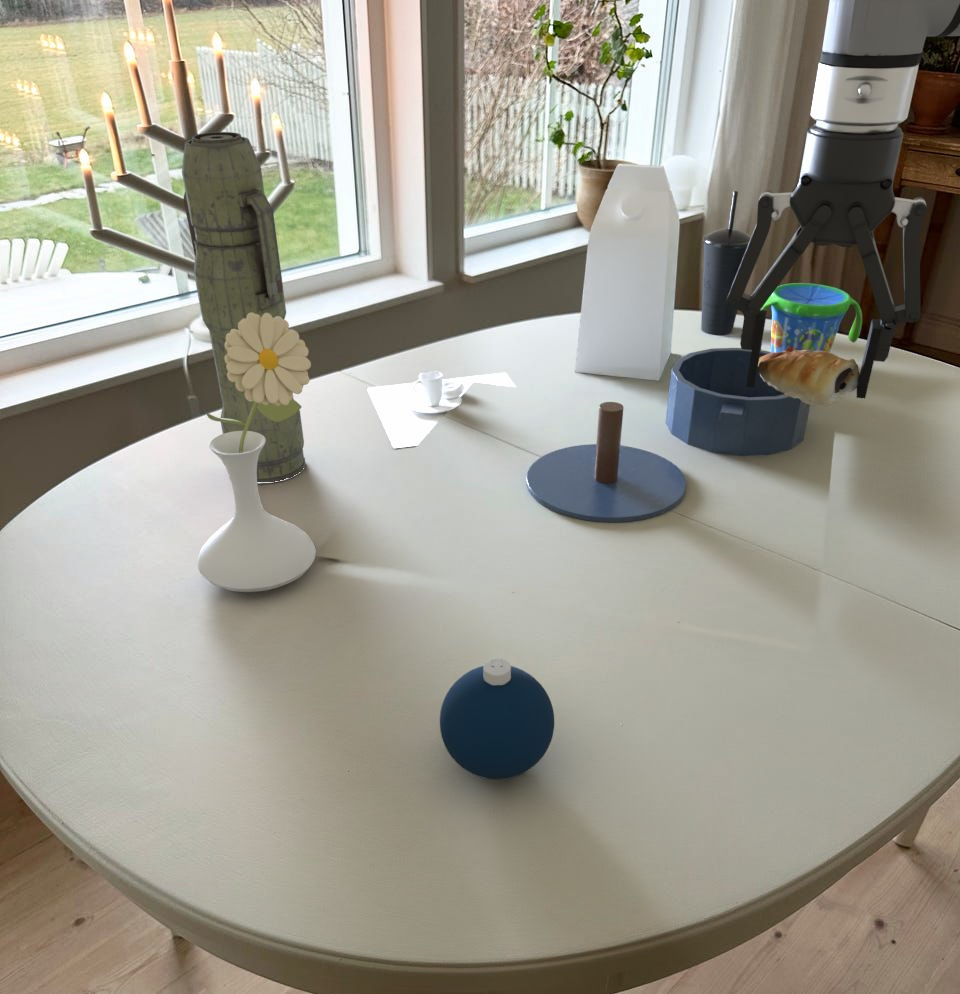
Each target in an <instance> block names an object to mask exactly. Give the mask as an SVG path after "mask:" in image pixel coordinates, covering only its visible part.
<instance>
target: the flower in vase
mask: <svg viewBox="0 0 960 994" xmlns="http://www.w3.org/2000/svg"><path fill="white" fill-rule="evenodd" d="M238 329H239V330H237V329H231V331H230V333H228V334H227V335H226V342H225V345H224V346H225V349H226V350H227V355H225V358H224V359H225V362H226V364H227V365H226V368H227V371H228V373H227V377H228V379H229V380H230V381H231V382H236V384H235V385H236V388H237V389H238V390H239V391H241V392H242V391H245V398H246V399H247V400H248V401H250V402H252V401H254V404H253V407H252V410H251V412H250V415H249V417H248V419H247V422H246V424H244V423H243V422H241V421H237V420H233V419H226V418H221V417H218V416H215V415H212V414H210V413H208V412H207V411H206V412H205V414H206V416H207V418H208V419H210V420H211V421H214V422H218V423H219V422H220V423H221V422H226V423H232V424H237V425H244V426H245V427H244V430H243V431H233V432H228V433H225V434H223V433H222V434H219V435H218V436H215V437H214V438H212V439H211V440H210V441H209V444H208V447H209V449H210V451H211V452H212V453H214V454H215V455H216V456H217V457H218V458H219V459H220V460H221V461H222V464H223V465H224V467H225V469H226V472H227V474H228V476H229V480H230V483H231V486H232V490H233V495H234V503H235V511H234V515H233V516H232V517H231V519H230V520H229V521H228V522H226V523H225V524H224V525H222V526H221V527H220V528H219V529H217V530H216V532H214V533H213V534H212V535H211V536H210V537H209V538H208V540H206V542H205V543H204V544H203V545H202V547H201V548H200V551H199V553H198V558H197V570H198V571H199V573H200V574H201V576H202V577H203V578H204V579H205V580H207V581H208V582H209V583H210V584H212V585H213V586H215V587H218V588H220V589H222V590H226V591H231V592H238V593H255V592H263V591H269V590H273V589H277V588H280V587H284V586H285V585H286V586H287V585H288V584H290V583H293V582H294V581H296V580H298V579H300V578H301V577H302V576H303V575H304V574H306V572H308V570H309V569H310V568H311V566H312V564H313V562H314V561H315V558H316V554H317V551H316V550H317V549H316V547H315V543H313V540H312V539H311V537H310V536H309V535H308V534H307V533H306V532H305V531H304V530H303V529H301V528H299V527H298V526H296V525H295V524H293V523H291V522H289V521H286V520H284V519H281V518H279V517H277V516H275V515H272V514H271V513H268V512H267V511H266V510H265V509H264V507H263V505H262V502H261V498H260V495H259V494H260V493H259V485H258V484H257V461H258V457H259V454H260V452H261V450H262V448H263V446H264V445H265V442H266V439H265V437H264V436H263V435H261V434H259V433H257V432H252V431H247V430H248V427H249V425H250V422H251V420H252V418H253V415H254V413H255V410H256V407H257V408H258V410H259V411H260V412H261V413H262V414H263V415H264V416H266V417H267V418H269V419H270V420H272V421H275V422H279V421H283V420H285V419H287V418H289V417H291V416H292V415H294V414H295V413H296V412H298V411H299V410H300V411H301V409H302V405H301V404H300V403H299V402H298V401H296V400H295V399H294V394H295V395H299V394H301V393H302V392H303V388H304V386H305V385H308V384H309V382H310V376H309V373H308V370H309V369H310V368H311V366H312V363H311V361H310V360H309V358H308V355H309V352H310V351H309V348H308V347H307V346H306V343H305V341H304V340H303V339H300V335H299V333H298V331H296V330H294V329H293V328H292V329H291V328H290V324H289V322H288V321H287V320H286V319H284V320H283V319H282V318H281V317H280V316H276V317H274V318H273V317H272V316H271V315H270V314H269V313H265V314H263V316H262V318H261V317H260V315H258V314H255V313H252V312H251V313H248V315H247V317H246V318H244V319H242V320H241V321H240V322H239V323H238ZM292 392H293V393H292ZM258 403H259V404H258ZM257 404H258V406H257Z"/></svg>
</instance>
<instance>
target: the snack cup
mask: <svg viewBox="0 0 960 994" xmlns="http://www.w3.org/2000/svg"><path fill="white" fill-rule="evenodd" d="M850 306H852V307H853V308H854V309H855V318H854V320H853V321H852V326H851V328H850V330H849V332H848V340H849V341H850V343H856V342H857V341H858V339H859V337H860V334H861V331H862V326H863V313H862V308H861V306H860V304H859V303H858V302H857V301H856V300H855V299H853V298H852V297H851V296H850V294H849V293H848V292H846V291H844V290H842V289H840V288H837V287H834V286H830V285H825V284H818V283H809V282H806V283H805V282H796V283H794V282H793V283H792V282H791V283H784V284H781V285H780V284H779V285H778V287H777V288H776V289H775V291H774V292H773V293H772V295H771V296H770V297H769V299H768V300H767V302H766V303H765V304H764V306H763V307H762V308H761V310H766V309H767V308H768V307H770V309H771V315H772V316H771V332H770V337H771V339H770V352H772V353H773V352H784V351H789V352H793V351H795V350H799V351H801V350H810V351H817V350H821V351H827V352H829V353H831V350H832V347H833V346H834V345H833V344H834V342H835V340H836V336H837V333H838V331H839V328H840V325H841V323H842V321H843V318H844V317H845V315H846V313H847V311H849V308H850Z"/></svg>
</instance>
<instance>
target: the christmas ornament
mask: <svg viewBox="0 0 960 994" xmlns="http://www.w3.org/2000/svg"><path fill="white" fill-rule="evenodd" d="M439 729H440V736H441V739H442V742H443V745H444V747H445V749H446V750H447V753H448V754H449V755H450V757H451V758H452V760H454V761H455V763H457V765H458V766H460V767H461V768H462V769H464V770H465V771H467V772H469V774H472V775H475V776H477V777H480V778H484V779H488V780H506V779H512V778H515V777H518V776H520V775H522V774H524V773H526V772H528V771H529V770H531V769H533V767H534V766H536V765H537V764H538V763H539V762H540V761H541V760H542V758H543V757H544V756H545V754H546V753H547V751H548V749H549V747H550V745H551V743H552V740H553V737H554V732H555V712H554V706H553V705H552V701H551V698H550V697H549V694H548V693H547V691H546V689H545V688H544V687H543V685H542V684H541V683H540V682H539V681H538V680H537V679H536V678H535V677H534V676H533V675H531V674H530V673H529V672H527V671H525V670H523V669H521V668H518V667H516V666H513V665H511V663H510V662H509V661H507V660H506V659H503V658H491V659H488V660H487V661H486V662H484V664H483V665H482V666H478V667H475V668H473V669H471V670H469V671H467V672H465V673H464V674H463V675H461V676H460V677H459V678H458V679H456V681H454V683H453V684H452V686H450V688H449V690H447V693H446V695H445V697H444V699H443V701H442V704H441V709H440V713H439Z"/></svg>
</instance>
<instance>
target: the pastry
mask: <svg viewBox="0 0 960 994" xmlns="http://www.w3.org/2000/svg"><path fill="white" fill-rule="evenodd" d="M758 369H759V373H760V376H761V378H762V379H763V380H764V382H767V383H768V385H769V386H773V387H774V388H775V389H776V390H778V391H780V392H783V393H784V394H785V395H787V396H790V397H792V398H794V399H795V398H798V399H800V400H801V401H802V402H804V403H806V404H810V405H811V406H820V407H821V406H822V407H828V406H830V405H832V404H833V403H836V402H837V401H838V400H840V399H841V398H842V397H843V396H846V395H848V394H850V393H852V392H855V391H856V390H857V386H858V384H859V376H860V375H859V374H860V370H859V365H858V364H857V362H856V360H855V359H854V358H851V359H845V358H842V357H840V356H838V355H836V354H835V353H832V352H830V353H829V352H827V351H821V350H817V351H810V350H801V351H799V350H795V351H793V352H789V351H784V352H773V353H769V354H767V355H764V356H762V357H760V358H759V363H758Z"/></svg>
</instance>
